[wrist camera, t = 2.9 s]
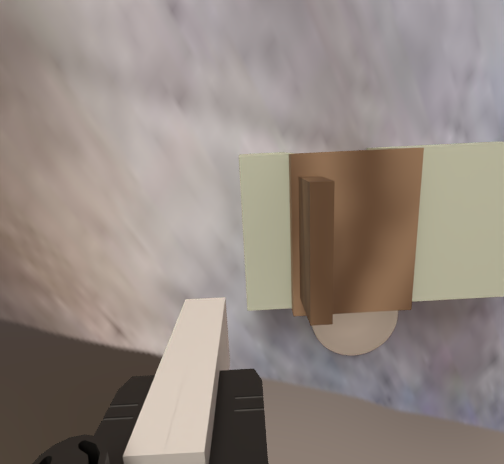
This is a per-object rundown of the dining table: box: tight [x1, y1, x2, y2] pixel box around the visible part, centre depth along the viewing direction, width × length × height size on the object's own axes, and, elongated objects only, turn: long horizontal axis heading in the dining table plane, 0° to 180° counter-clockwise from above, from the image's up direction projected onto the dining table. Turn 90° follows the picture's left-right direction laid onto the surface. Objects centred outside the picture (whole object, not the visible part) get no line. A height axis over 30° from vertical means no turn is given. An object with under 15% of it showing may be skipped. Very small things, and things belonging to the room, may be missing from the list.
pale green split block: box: [239, 142, 504, 311], centre depth 29 cm, size 24×12×8 cm, turn 93°
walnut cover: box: [289, 148, 424, 326], centre depth 22 cm, size 9×12×5 cm
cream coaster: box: [312, 310, 398, 355], centre depth 35 cm, size 9×9×1 cm
